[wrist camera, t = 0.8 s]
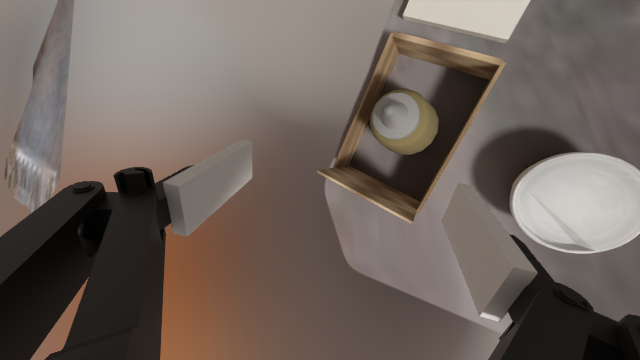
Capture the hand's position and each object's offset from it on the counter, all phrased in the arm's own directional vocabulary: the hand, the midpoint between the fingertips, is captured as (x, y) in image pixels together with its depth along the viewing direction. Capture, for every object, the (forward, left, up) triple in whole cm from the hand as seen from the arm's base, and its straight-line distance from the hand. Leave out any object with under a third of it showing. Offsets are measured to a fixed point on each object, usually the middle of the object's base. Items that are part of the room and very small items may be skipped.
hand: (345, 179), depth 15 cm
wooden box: (+1, -5, -25) cm, 26 cm away
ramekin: (-19, -4, -26) cm, 32 cm away
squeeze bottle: (+1, -5, -26) cm, 26 cm away
